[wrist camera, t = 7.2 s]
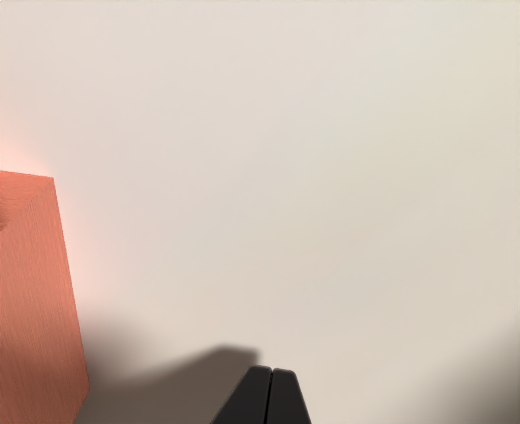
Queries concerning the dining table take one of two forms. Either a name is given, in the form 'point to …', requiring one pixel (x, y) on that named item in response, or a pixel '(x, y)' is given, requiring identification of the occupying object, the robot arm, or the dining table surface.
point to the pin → (37, 308)
